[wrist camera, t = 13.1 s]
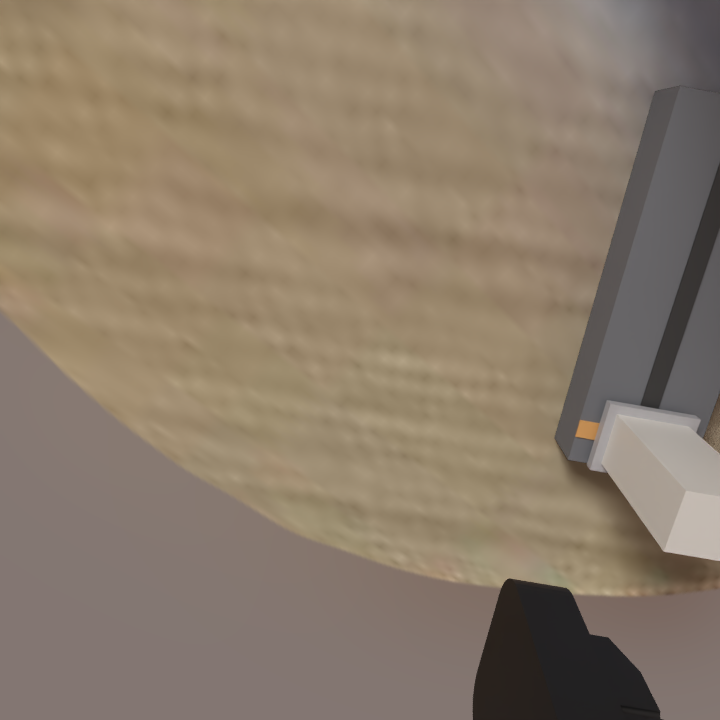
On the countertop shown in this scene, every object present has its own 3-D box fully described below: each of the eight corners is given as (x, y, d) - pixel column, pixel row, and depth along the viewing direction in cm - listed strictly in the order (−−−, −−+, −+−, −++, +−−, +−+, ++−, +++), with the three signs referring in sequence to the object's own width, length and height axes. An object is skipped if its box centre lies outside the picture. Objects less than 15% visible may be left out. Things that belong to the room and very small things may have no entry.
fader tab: (606, 400, 36) (678, 478, 27) (695, 415, 36) (794, 498, 27) (586, 464, 37) (648, 559, 28) (672, 479, 37) (760, 578, 29)
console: (654, 91, 34) (681, 85, 31) (785, 115, 34) (823, 112, 31) (554, 437, 40) (568, 460, 37) (665, 456, 40) (688, 481, 37)
